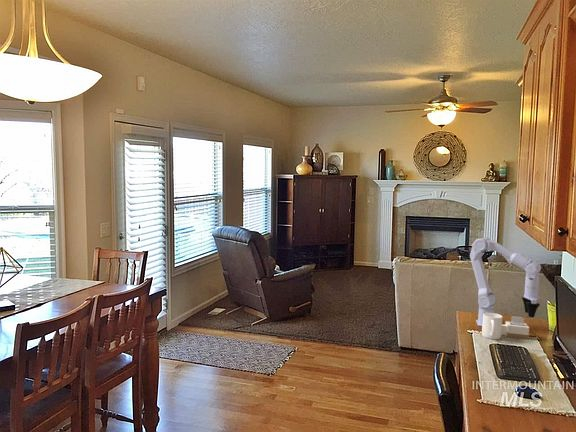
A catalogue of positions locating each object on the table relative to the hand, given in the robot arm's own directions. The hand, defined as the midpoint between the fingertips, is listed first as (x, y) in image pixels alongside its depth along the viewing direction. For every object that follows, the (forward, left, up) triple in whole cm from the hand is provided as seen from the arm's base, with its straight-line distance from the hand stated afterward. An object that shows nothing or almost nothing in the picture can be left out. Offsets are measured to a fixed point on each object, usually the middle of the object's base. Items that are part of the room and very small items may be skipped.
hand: (529, 314), depth 226 cm
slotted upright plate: (+5, -11, -9) cm, 15 cm away
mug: (+13, -18, -10) cm, 24 cm away
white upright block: (+5, -6, -7) cm, 11 cm away
